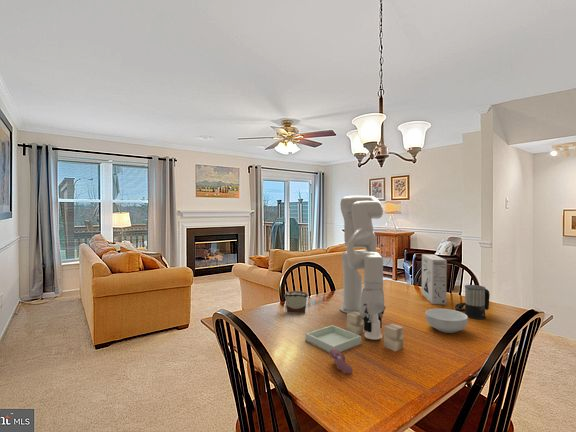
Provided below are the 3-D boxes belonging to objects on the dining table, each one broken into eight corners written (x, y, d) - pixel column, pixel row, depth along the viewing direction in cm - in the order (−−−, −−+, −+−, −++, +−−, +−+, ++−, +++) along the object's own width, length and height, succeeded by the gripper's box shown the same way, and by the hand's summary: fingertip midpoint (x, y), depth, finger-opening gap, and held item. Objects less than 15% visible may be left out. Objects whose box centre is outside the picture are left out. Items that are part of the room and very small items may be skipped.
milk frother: (481, 321, 152) (482, 290, 151) (447, 312, 164) (447, 284, 163) (491, 314, 161) (492, 285, 161) (458, 307, 173) (458, 280, 173)
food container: (308, 309, 169) (308, 290, 168) (308, 313, 163) (308, 294, 162) (285, 309, 170) (285, 290, 170) (284, 312, 164) (284, 293, 164)
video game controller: (334, 365, 112) (325, 347, 112) (345, 358, 112) (337, 341, 112) (341, 380, 102) (332, 361, 102) (354, 373, 103) (344, 354, 102)
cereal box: (421, 294, 200) (421, 254, 199) (434, 294, 199) (434, 254, 198) (432, 304, 178) (432, 259, 178) (446, 304, 177) (446, 259, 177)
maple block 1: (354, 329, 141) (354, 311, 141) (363, 332, 137) (363, 314, 137) (346, 332, 138) (346, 313, 138) (355, 335, 134) (355, 316, 134)
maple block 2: (391, 343, 126) (391, 323, 126) (403, 348, 122) (403, 327, 122) (384, 347, 123) (384, 326, 123) (395, 351, 119) (395, 330, 119)
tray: (332, 331, 138) (332, 324, 138) (361, 343, 126) (361, 336, 126) (305, 340, 129) (305, 333, 129) (333, 354, 116) (333, 346, 116)
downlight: (383, 334, 133) (382, 310, 132) (383, 341, 126) (382, 315, 126) (364, 332, 135) (363, 309, 135) (362, 339, 129) (361, 314, 128)
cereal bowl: (434, 320, 153) (434, 305, 152) (472, 329, 141) (473, 313, 141) (419, 329, 141) (419, 313, 141) (460, 340, 129) (460, 323, 129)
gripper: (378, 280, 138) (378, 321, 139) (352, 286, 128) (351, 331, 128) (393, 284, 132) (393, 327, 133) (367, 291, 122) (366, 337, 122)
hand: (372, 328), depth 131 cm, fingers closed on downlight, 5 cm apart
